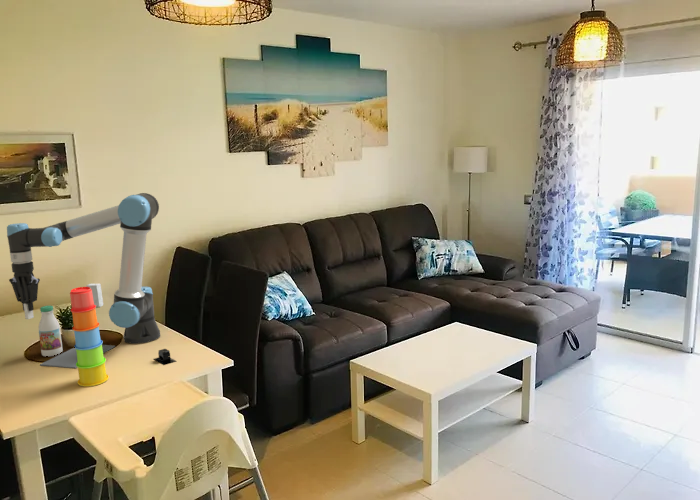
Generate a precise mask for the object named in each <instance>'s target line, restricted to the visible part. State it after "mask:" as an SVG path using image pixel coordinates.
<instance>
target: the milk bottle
mask: <svg viewBox="0 0 700 500" xmlns="http://www.w3.org/2000/svg"><path fill="white" fill-rule="evenodd" d="M39 310H40V313H41V317H40V321H39V324H38V335H39V345H40V351H41V356H43V357H46V356H48V357H55V356H58V355H60V353H61V352H62V353H63V351H64V350H63V342H62V335H61V334H62V333H61V327H60V323H59V321H58V319H57V318H56V317H55V313H54V306H53V305H43V306H41V307H39ZM62 353H61V354H62ZM57 354H58V355H57ZM54 355H55V356H54Z"/></svg>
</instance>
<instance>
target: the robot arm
mask: <svg viewBox="0 0 700 500" xmlns="http://www.w3.org/2000/svg"><path fill="white" fill-rule="evenodd" d="M159 212H160V204H159V201H158V199H157V198H156V197H155V196H154V195H152V194H150V193H148V192H147V193H146V192H142V193H137V194H131V195H128V196H126V197H125V198H123V199H122V200H121V201H120V203H119V204H118V205H115V206H111V207H107V208H105V209H102V210H99V211H95V212H92V213H88V214H86V215H81V216H78V217H76V218H72V219H68V220H66V221H62V222H58V223H55V224H52V225H48V226H45V227H37V228H30V227H29V225H28V224H27V223H26V222H22V223H21V222H19V223H12V224H8V225H7V226H6V234H7V235H6V237H7V242H8V243H7V244H8V248H9V258H10V262H11V264H10V265H11V270H12V273H13V277H12V278H9V279H8V280H9V283H10V284H11V286H12V289H13V293H14V295H15V299H16V300H17V302H19V303H21V304H22V305H21V306H22V310H23V311H24V317H25V318H24V319H25V320H30V319H33V318H35V317H34V309H35V308H34V302H36V301H38V292H39V291H38V290H39V283H40V281H41V280H40V278H39V277H38V278H37V277H36V276H35V274H34V273H33V271H34V268H35V267H34V262H33V261H32V260H33V253H32V248H37V247H38V248H41V247H45V248H47V247H49V248H52V247H57V246H58V247H59V246H60V245H61V244H62V242H63V241H67V240H71V239H74V238H77V237H80V236H82V235H87V234H90V233H94V232H97V231H100V230H103V229H106V228H107V229H108V228H110V227H114V226H117V225H119V227H120V229H121V230H122V231H123V238H122V247H121V259H120V272H119V273H120V274H119V283H118V289H117V290H115V291H114V293H113V303H112V304H111V306H110V308H109V310H108V316H109V320H110V321H111V322H112V323H113V324H114V325H115V326H117V327H119V328H123V329H124V333H123V342H125V343H127V344H145V343H150V342H154V341H157V340H158V339H159V338H160V337H161V331H160V328H159V326H158V324H157V322H156V319H155V307H154V296H153V295H154V293H153V289H152V287H150V286H143V275H144V265H145V254H146V244H147V242H146V241H147V233H149V232H150V231H152V224H153V223H152V222H153V220H154V218H156V216H157V215H158V213H159Z"/></svg>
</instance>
